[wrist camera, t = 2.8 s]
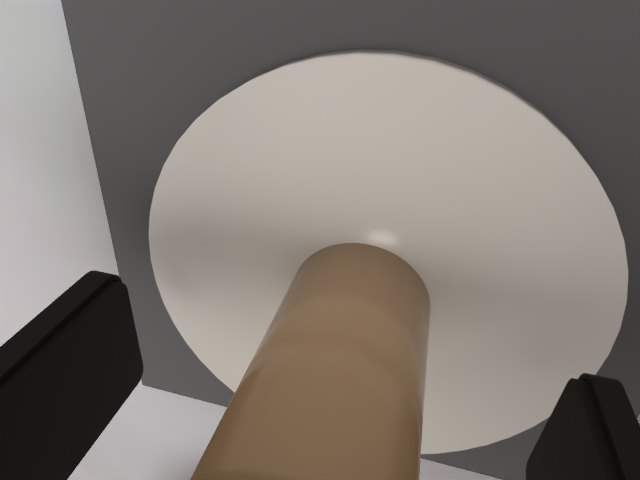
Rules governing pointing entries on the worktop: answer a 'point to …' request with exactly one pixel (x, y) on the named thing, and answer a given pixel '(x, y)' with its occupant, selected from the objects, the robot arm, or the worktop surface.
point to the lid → (382, 265)
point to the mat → (331, 36)
